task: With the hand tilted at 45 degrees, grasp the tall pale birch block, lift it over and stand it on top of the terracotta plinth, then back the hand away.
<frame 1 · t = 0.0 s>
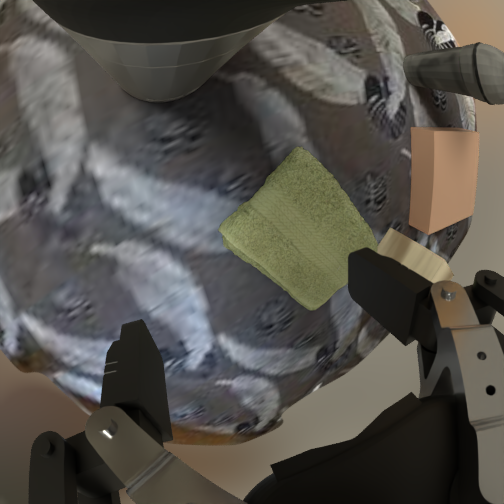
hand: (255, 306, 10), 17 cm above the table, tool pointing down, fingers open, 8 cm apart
washcloth: (304, 233, 31), on the table
terracotta plinth: (438, 172, 33), on the table
beverage cup: (412, 70, 25), on the table
birch block: (388, 249, 36), on the table
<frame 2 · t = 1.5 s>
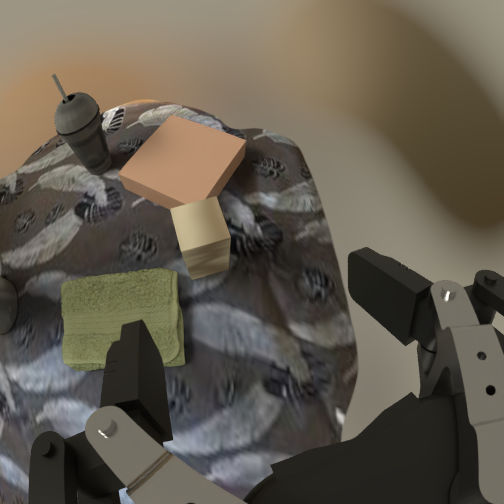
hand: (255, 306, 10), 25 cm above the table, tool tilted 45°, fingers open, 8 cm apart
washcloth: (120, 321, 33), on the table
terracotta plinth: (184, 171, 41), on the table
beverage cup: (100, 165, 41), on the table
birch block: (204, 257, 37), on the table
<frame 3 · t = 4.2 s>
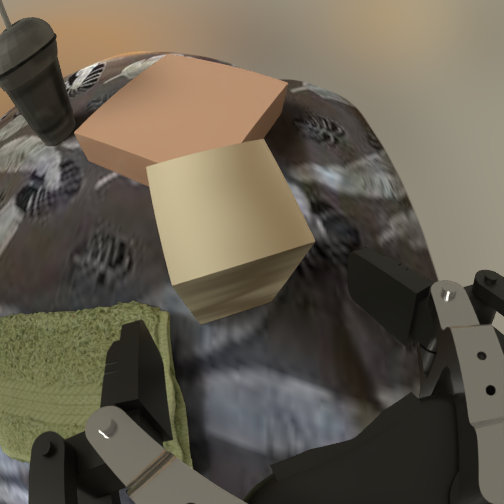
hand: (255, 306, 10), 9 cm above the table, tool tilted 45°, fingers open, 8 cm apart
washcloth: (76, 394, 15), on the table
terracotta plinth: (185, 130, 24), on the table
beverage cup: (60, 132, 24), on the table
birch block: (224, 279, 19), on the table
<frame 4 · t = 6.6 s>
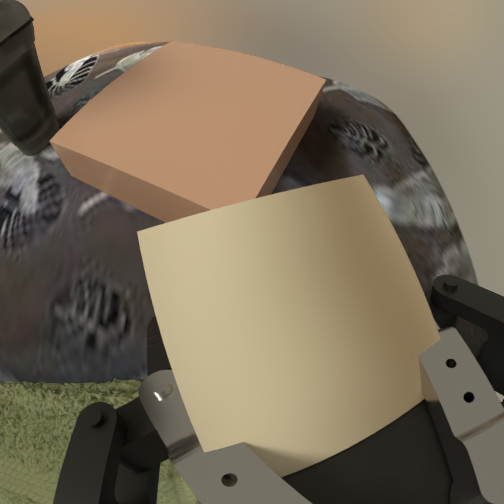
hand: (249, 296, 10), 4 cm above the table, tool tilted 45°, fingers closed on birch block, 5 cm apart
washcloth: (75, 471, 10), on the table
terracotta plinth: (195, 136, 19), on the table
beverage cup: (41, 138, 18), on the table
birch block: (255, 346, 14), on the table, touching gripper
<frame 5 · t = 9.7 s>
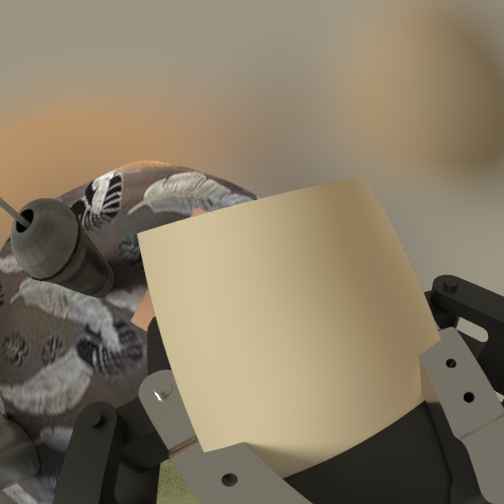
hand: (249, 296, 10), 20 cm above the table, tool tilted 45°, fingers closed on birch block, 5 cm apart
washcloth: (170, 491, 21), on the table
terracotta plinth: (225, 300, 30), on the table
beverage cup: (99, 279, 30), on the table
birch block: (256, 347, 14), point 16 cm above the table, touching gripper
when the fingers open (10 cm above the table, at t = 13.2 s): birch block drops 1 cm, resting on terracotta plinth.
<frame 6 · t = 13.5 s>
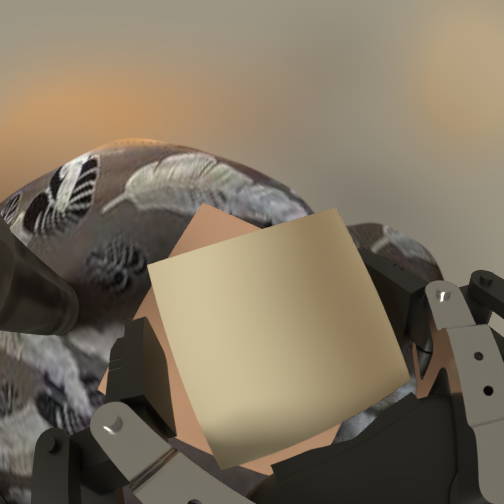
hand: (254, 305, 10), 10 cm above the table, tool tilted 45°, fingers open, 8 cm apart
terracotta plinth: (247, 350, 19), on the table
beverage cup: (59, 309, 18), on the table
birch block: (250, 349, 15), point 4 cm above the table, touching terracotta plinth
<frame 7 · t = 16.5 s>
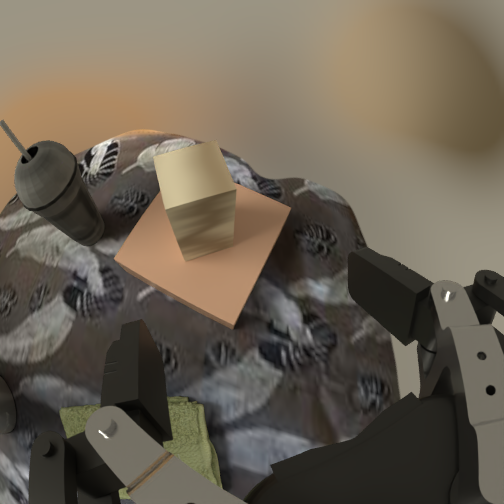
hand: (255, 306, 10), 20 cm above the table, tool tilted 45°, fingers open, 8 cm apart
washcloth: (140, 450, 23), on the table
terracotta plinth: (205, 247, 32), on the table
beverage cup: (90, 230, 32), on the table
birch block: (201, 232, 28), point 4 cm above the table, touching terracotta plinth
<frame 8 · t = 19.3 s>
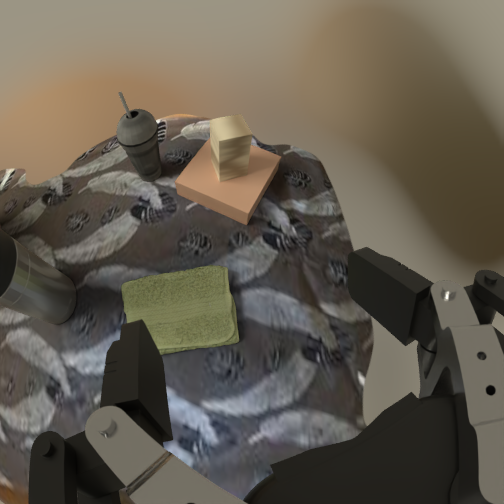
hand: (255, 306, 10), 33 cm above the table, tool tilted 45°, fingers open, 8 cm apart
washcloth: (179, 312, 42), on the table
terracotta plinth: (229, 180, 51), on the table
beverage cup: (150, 173, 51), on the table
birch block: (228, 167, 47), point 4 cm above the table, touching terracotta plinth
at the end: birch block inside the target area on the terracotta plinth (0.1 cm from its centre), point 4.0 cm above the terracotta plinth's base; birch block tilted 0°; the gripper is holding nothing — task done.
